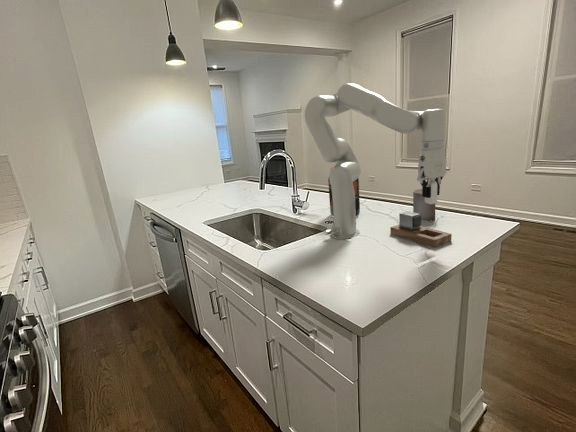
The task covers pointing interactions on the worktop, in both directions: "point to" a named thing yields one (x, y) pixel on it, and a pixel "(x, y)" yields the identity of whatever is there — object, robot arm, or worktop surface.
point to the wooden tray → (423, 236)
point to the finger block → (409, 221)
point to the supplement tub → (357, 201)
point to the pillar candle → (423, 206)
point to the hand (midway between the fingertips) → (430, 195)
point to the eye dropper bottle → (432, 192)
